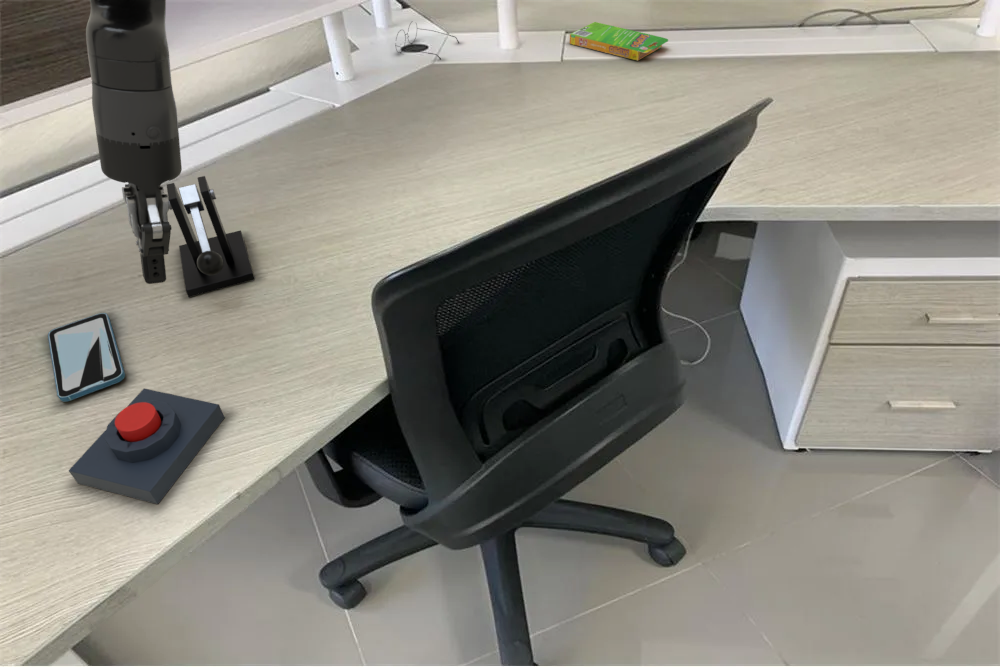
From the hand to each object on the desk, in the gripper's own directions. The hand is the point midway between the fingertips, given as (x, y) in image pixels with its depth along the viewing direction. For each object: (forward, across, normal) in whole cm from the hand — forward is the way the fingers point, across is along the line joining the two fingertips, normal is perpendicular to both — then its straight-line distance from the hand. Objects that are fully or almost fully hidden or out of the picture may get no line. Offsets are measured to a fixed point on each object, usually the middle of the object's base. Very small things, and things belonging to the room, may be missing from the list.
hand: (154, 280), depth 80 cm
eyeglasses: (-12, -75, +72) cm, 105 cm away
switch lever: (+1, -14, +8) cm, 16 cm away
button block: (+14, +13, -4) cm, 19 cm away
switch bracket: (+8, -18, +11) cm, 22 cm away
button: (+10, +13, -5) cm, 17 cm away
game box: (-20, -48, +106) cm, 118 cm away
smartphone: (+14, -7, -8) cm, 17 cm away
